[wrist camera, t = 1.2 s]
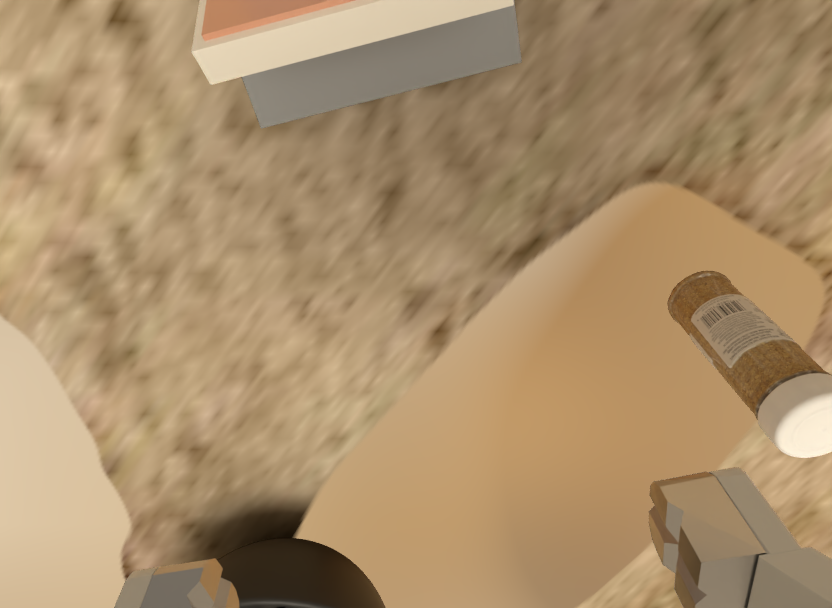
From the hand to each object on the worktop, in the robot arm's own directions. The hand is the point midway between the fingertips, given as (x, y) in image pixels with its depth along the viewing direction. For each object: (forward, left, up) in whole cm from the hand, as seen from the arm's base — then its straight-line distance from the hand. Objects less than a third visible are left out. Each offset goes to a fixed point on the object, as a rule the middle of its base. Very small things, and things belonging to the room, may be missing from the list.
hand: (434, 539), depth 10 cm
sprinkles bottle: (-18, +16, -27) cm, 36 cm away
